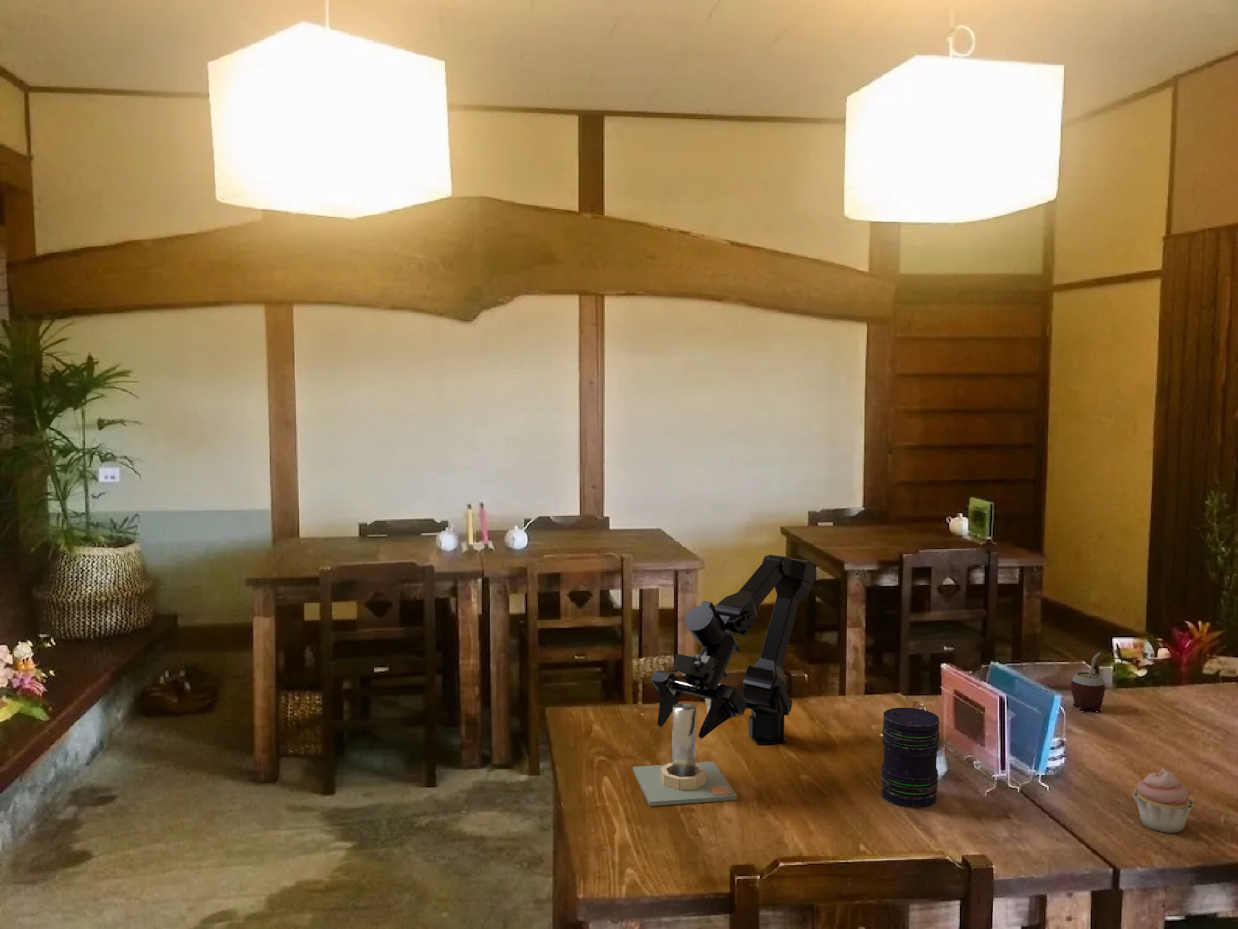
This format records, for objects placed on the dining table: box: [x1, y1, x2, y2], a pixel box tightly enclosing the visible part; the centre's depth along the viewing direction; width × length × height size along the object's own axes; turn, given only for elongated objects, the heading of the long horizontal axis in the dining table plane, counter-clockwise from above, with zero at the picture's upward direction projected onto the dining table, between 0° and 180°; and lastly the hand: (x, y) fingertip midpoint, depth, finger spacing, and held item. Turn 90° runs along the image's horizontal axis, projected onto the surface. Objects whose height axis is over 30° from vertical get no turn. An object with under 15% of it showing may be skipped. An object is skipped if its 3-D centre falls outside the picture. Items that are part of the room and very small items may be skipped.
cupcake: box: [1131, 767, 1195, 834], centre depth 169 cm, size 9×9×10 cm
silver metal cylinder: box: [671, 702, 698, 777], centre depth 185 cm, size 4×4×14 cm
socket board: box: [632, 761, 738, 807], centre depth 185 cm, size 16×16×3 cm
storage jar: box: [880, 707, 940, 809], centre depth 180 cm, size 10×10×15 cm
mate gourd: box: [1070, 651, 1106, 713], centre depth 227 cm, size 8×8×15 cm
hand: (679, 731), depth 183 cm, fingers open, 9 cm apart
